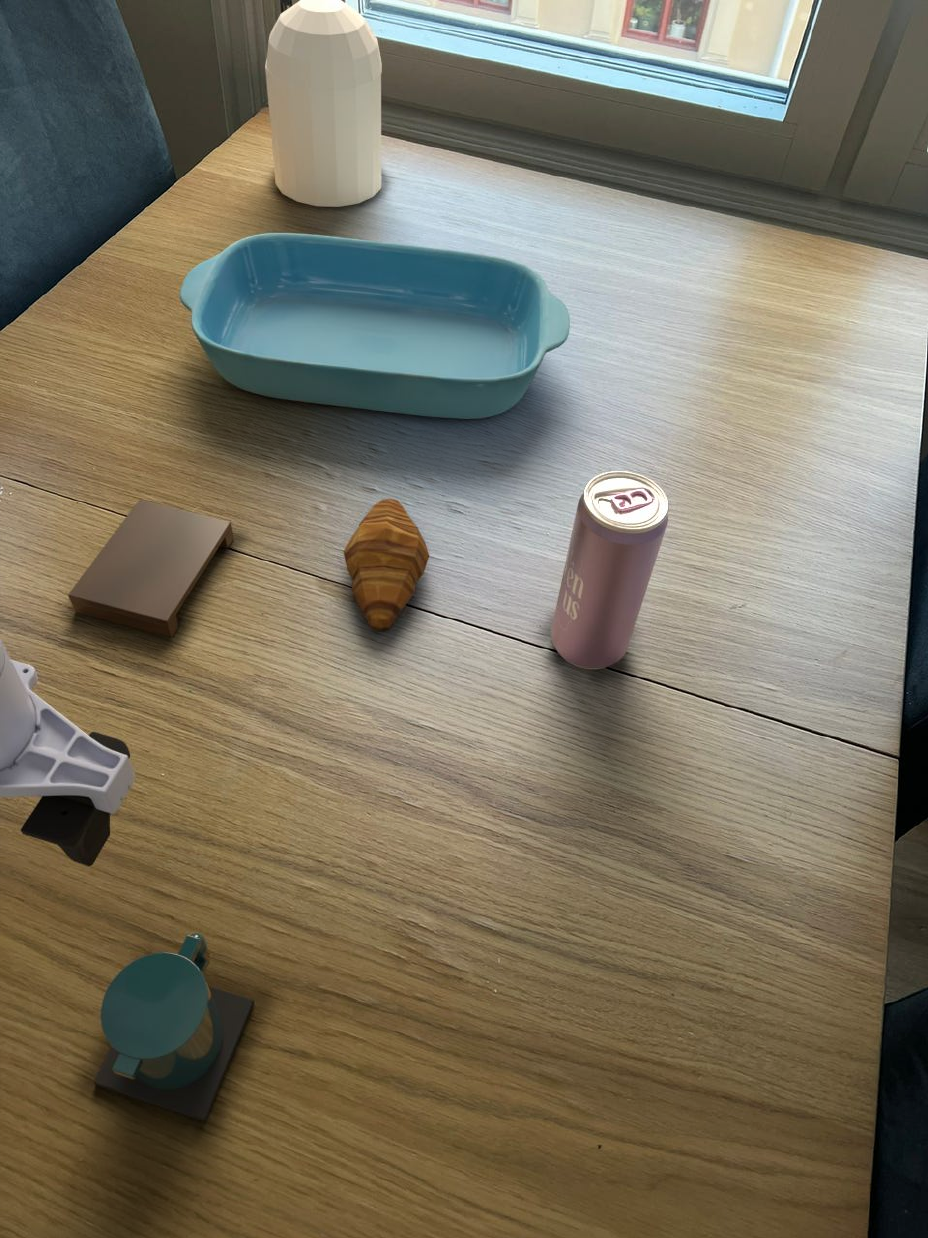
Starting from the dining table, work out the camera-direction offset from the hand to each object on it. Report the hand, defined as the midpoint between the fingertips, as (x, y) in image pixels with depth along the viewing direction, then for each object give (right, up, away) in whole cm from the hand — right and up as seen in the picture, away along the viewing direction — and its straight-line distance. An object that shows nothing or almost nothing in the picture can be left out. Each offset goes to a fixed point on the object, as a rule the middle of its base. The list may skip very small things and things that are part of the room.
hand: (27, 827), depth 48 cm
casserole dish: (+14, +37, +45) cm, 60 cm away
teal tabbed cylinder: (+7, -12, +3) cm, 14 cm away
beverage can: (+32, +9, +24) cm, 41 cm away
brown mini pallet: (-2, +14, +25) cm, 29 cm away
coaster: (+7, -13, +3) cm, 15 cm away
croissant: (+16, +14, +27) cm, 35 cm away
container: (+6, +66, +69) cm, 96 cm away
